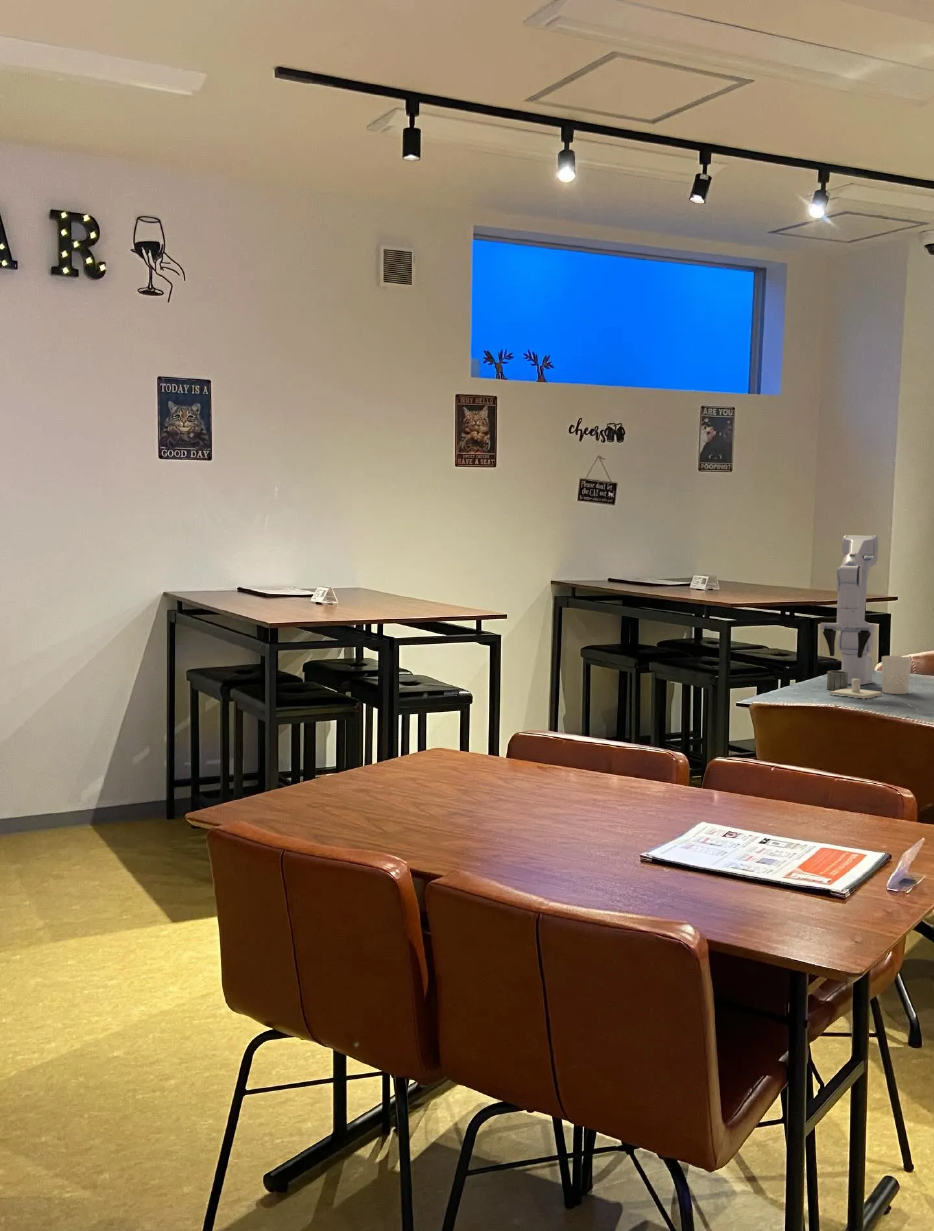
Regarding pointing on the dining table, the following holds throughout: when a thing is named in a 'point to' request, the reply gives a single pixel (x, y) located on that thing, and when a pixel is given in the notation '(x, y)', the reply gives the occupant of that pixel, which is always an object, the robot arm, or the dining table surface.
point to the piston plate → (858, 694)
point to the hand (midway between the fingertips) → (845, 656)
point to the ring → (837, 680)
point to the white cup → (895, 674)
